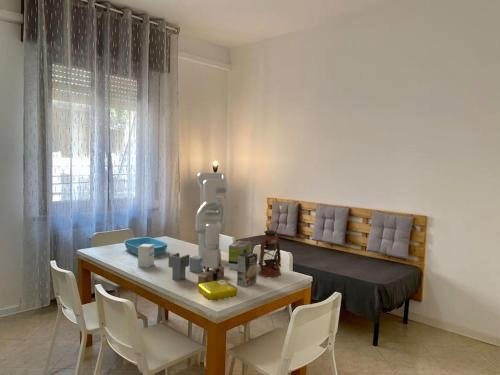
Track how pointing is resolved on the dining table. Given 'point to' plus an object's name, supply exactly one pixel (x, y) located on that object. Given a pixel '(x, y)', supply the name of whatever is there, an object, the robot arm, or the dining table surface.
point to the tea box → (237, 252)
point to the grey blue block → (196, 264)
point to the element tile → (217, 290)
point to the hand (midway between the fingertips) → (211, 278)
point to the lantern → (271, 264)
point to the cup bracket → (178, 265)
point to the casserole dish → (135, 242)
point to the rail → (209, 276)
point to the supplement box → (145, 255)
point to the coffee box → (247, 269)
